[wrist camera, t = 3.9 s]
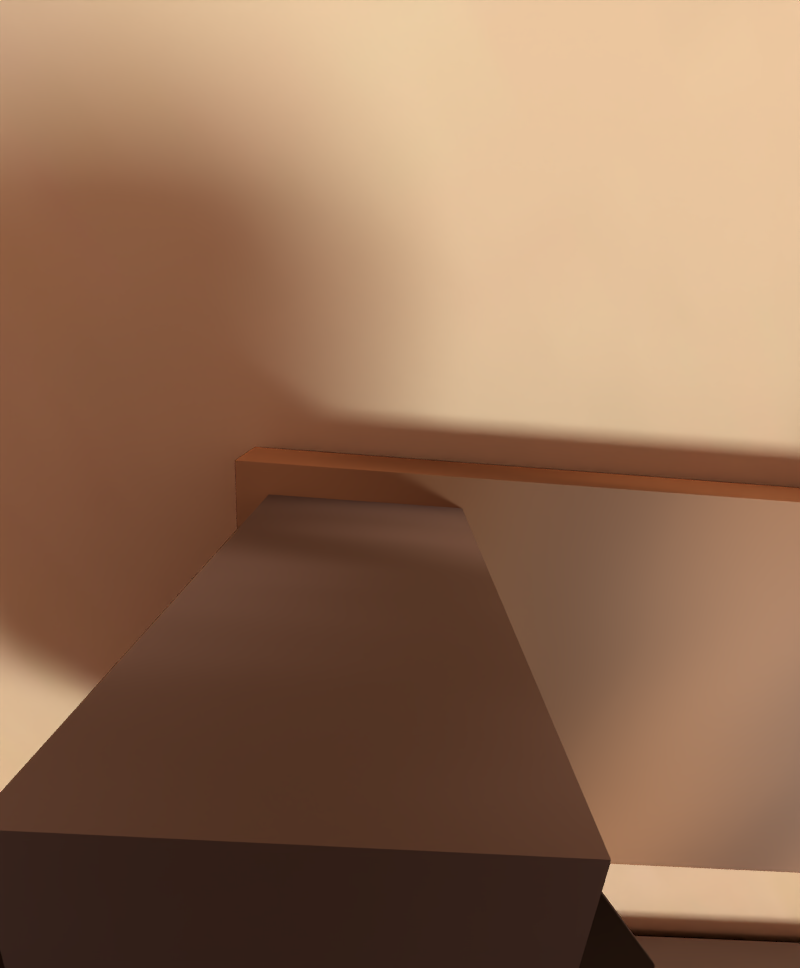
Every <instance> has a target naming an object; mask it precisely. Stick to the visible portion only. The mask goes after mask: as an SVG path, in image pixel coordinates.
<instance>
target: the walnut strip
mask: <svg viewBox="0 0 800 968" xmlns="http://www.w3.org/2000/svg"><path fill="white" fill-rule="evenodd" d="M235 476H236V512H237V530H236V531H235V532H234V533H233V535H232V536H231V537H230V538H229V539H228V540H227V541H226V542H225V543H224V545H223V546H222V547H221V548H220V549H219V550H218V551H217V552H216V553H215V555H214V556H213V557H212V558H211V559H210V560H209V561H208V562H207V563H206V565H205V566H204V567H203V568H202V569H201V570H200V571H199V572H198V573H197V575H196V576H195V577H194V578H193V579H192V580H191V581H190V582H189V583H188V585H187V586H186V587H185V588H184V589H183V590H182V591H181V592H180V593H179V595H178V596H177V597H176V598H175V599H174V600H173V601H172V602H171V603H170V605H169V606H168V607H167V608H166V609H165V610H164V611H163V612H162V613H161V615H160V616H159V617H158V618H157V619H156V620H155V621H154V622H153V623H152V625H151V626H150V627H149V628H148V629H147V630H146V631H145V632H144V633H143V635H142V636H141V637H140V638H139V639H138V640H137V641H136V642H135V643H134V645H133V646H132V647H131V648H130V649H129V650H128V651H127V652H126V653H125V655H124V656H123V657H122V658H121V659H120V660H119V661H118V662H117V663H116V665H115V666H114V667H113V668H112V669H111V670H110V671H109V672H108V673H107V675H106V676H105V677H104V678H103V679H102V680H101V681H100V682H99V683H98V685H97V686H96V687H95V688H94V689H93V690H92V691H91V692H90V693H89V695H88V696H87V697H86V698H85V699H84V700H83V701H82V702H81V703H80V705H79V706H78V707H77V708H76V709H75V710H74V711H73V712H72V713H71V715H70V716H69V717H68V718H67V719H66V720H65V721H64V722H63V723H62V725H61V726H60V727H59V728H58V729H57V730H56V731H55V732H54V733H53V735H52V736H51V737H50V738H49V739H48V740H47V741H46V742H45V743H44V745H43V746H42V747H41V748H40V749H39V750H38V751H37V752H36V753H35V755H34V756H33V757H32V758H31V759H30V760H29V761H28V762H27V763H26V765H25V766H24V767H23V768H22V769H21V770H20V771H19V772H18V773H17V775H16V776H15V777H14V778H13V779H12V780H11V781H10V782H9V783H8V785H7V786H6V787H5V788H4V789H3V790H2V791H1V792H0V952H1V955H2V959H3V963H4V967H5V968H579V966H580V963H581V959H582V956H583V953H584V949H585V946H586V942H587V939H588V936H589V932H590V929H591V926H592V922H593V919H594V916H595V912H596V909H597V906H598V902H599V899H600V895H601V892H602V889H603V885H604V882H605V879H606V875H607V872H608V869H609V865H610V864H630V865H651V866H672V867H692V868H713V869H734V870H755V871H776V872H797V873H800V488H795V487H782V486H768V485H755V484H742V483H729V482H715V481H702V480H689V479H675V478H662V477H649V476H635V475H622V474H609V473H596V472H582V471H569V470H556V469H542V468H529V467H516V466H502V465H489V464H476V463H462V462H449V461H436V460H423V459H409V458H396V457H383V456H369V455H356V454H343V453H329V452H316V451H303V450H290V449H276V448H263V447H254V448H253V449H251V450H250V451H248V452H247V453H246V454H244V455H243V456H241V457H240V458H238V459H237V460H235Z"/></svg>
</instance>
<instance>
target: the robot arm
mask: <svg viewBox="0 0 800 968" xmlns="http://www.w3.org/2000/svg"><path fill="white" fill-rule="evenodd" d="M0 968H5V967H4V963H3V959H2V955H1V952H0ZM579 968H655V964H654V962H653V960H652V959H651V958H650V956H649V955H648V954H647V952H646V951H645V950H644V948H643V947H642V945H641V944H640V943H639V941H638V940H637V939H636V937H635V936H634V935H633V933H632V932H631V930H630V929H629V928H628V926H627V925H626V924H625V922H624V921H623V920H622V918H621V917H620V916H619V914H618V913H617V911H616V910H615V909H614V907H613V906H612V905H611V903H610V902H609V901H608V899H607V898H606V897H605V895H604V894H603V892H601V895H600V899H599V902H598V906H597V909H596V912H595V916H594V919H593V922H592V926H591V929H590V932H589V936H588V939H587V942H586V946H585V949H584V953H583V956H582V959H581V963H580V966H579Z"/></svg>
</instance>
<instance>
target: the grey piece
mask: <svg viewBox="0 0 800 968" xmlns="http://www.w3.org/2000/svg"><path fill="white" fill-rule="evenodd" d="M635 937H636V939H637V940H638V941H639V943H640V944H641V945H642V947H643V948H644V950H645V951H646V952H647V954H648V955H649V956H650V958H651V959H652V960H653V962H654V964H655V968H800V943H789V942H766V941H742V940H719V939H696V938H672V937H649V936H635Z"/></svg>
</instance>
